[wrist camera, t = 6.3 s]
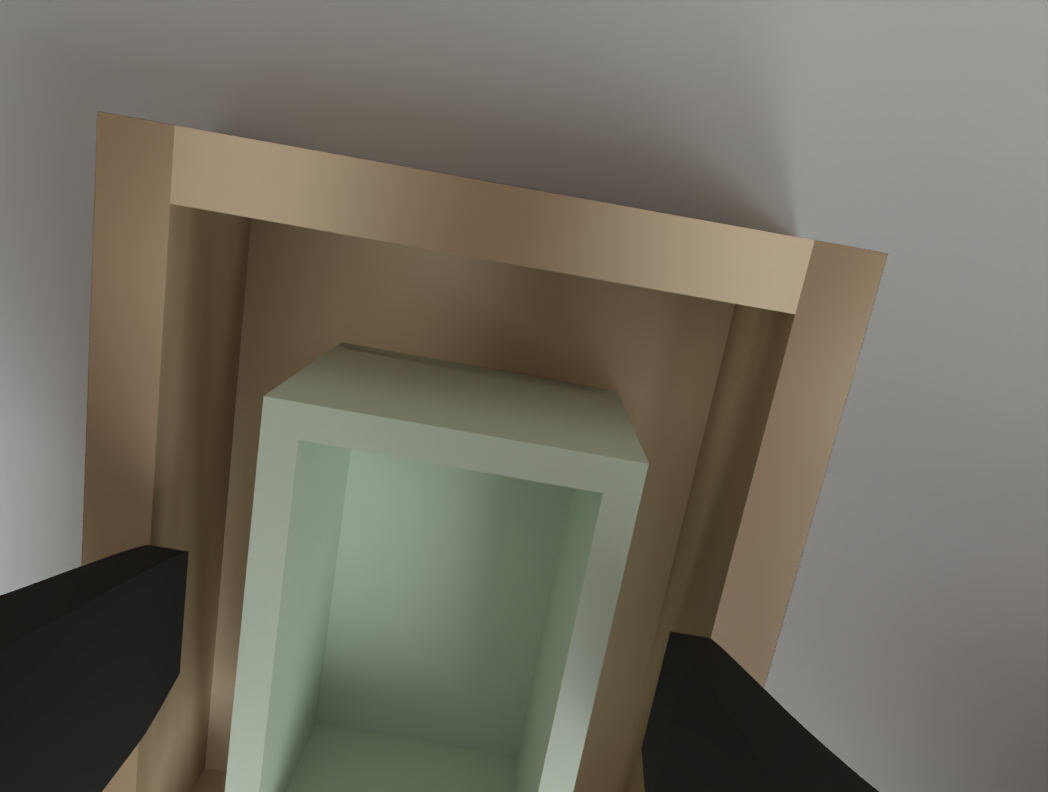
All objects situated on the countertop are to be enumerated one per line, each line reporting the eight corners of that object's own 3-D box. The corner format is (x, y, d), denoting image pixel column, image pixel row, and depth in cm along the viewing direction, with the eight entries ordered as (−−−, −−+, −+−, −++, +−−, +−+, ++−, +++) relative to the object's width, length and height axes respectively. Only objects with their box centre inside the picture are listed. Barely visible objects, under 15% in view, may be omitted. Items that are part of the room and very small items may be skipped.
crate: (799, 242, 13) (888, 253, 10) (641, 858, 17) (667, 1024, 13) (210, 136, 13) (97, 111, 10) (165, 783, 16) (68, 932, 13)
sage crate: (617, 391, 14) (648, 463, 10) (537, 764, 16) (537, 947, 12) (341, 341, 14) (263, 396, 10) (295, 724, 15) (214, 897, 12)
